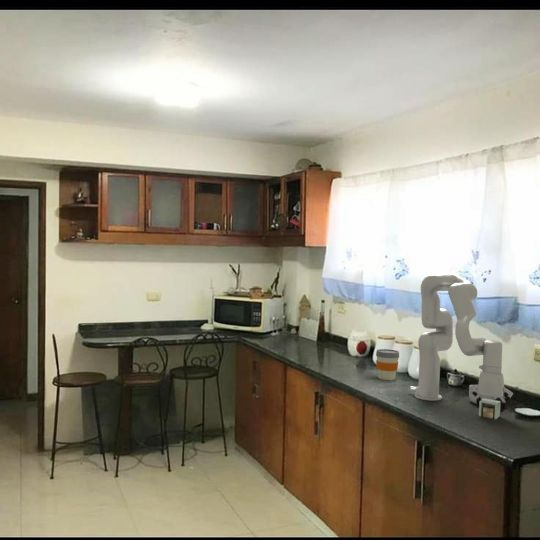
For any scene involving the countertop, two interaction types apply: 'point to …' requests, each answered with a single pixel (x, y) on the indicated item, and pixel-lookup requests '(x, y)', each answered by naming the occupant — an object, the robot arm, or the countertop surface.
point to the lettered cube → (489, 412)
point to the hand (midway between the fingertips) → (490, 409)
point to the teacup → (477, 393)
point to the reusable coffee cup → (387, 363)
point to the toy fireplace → (492, 404)
